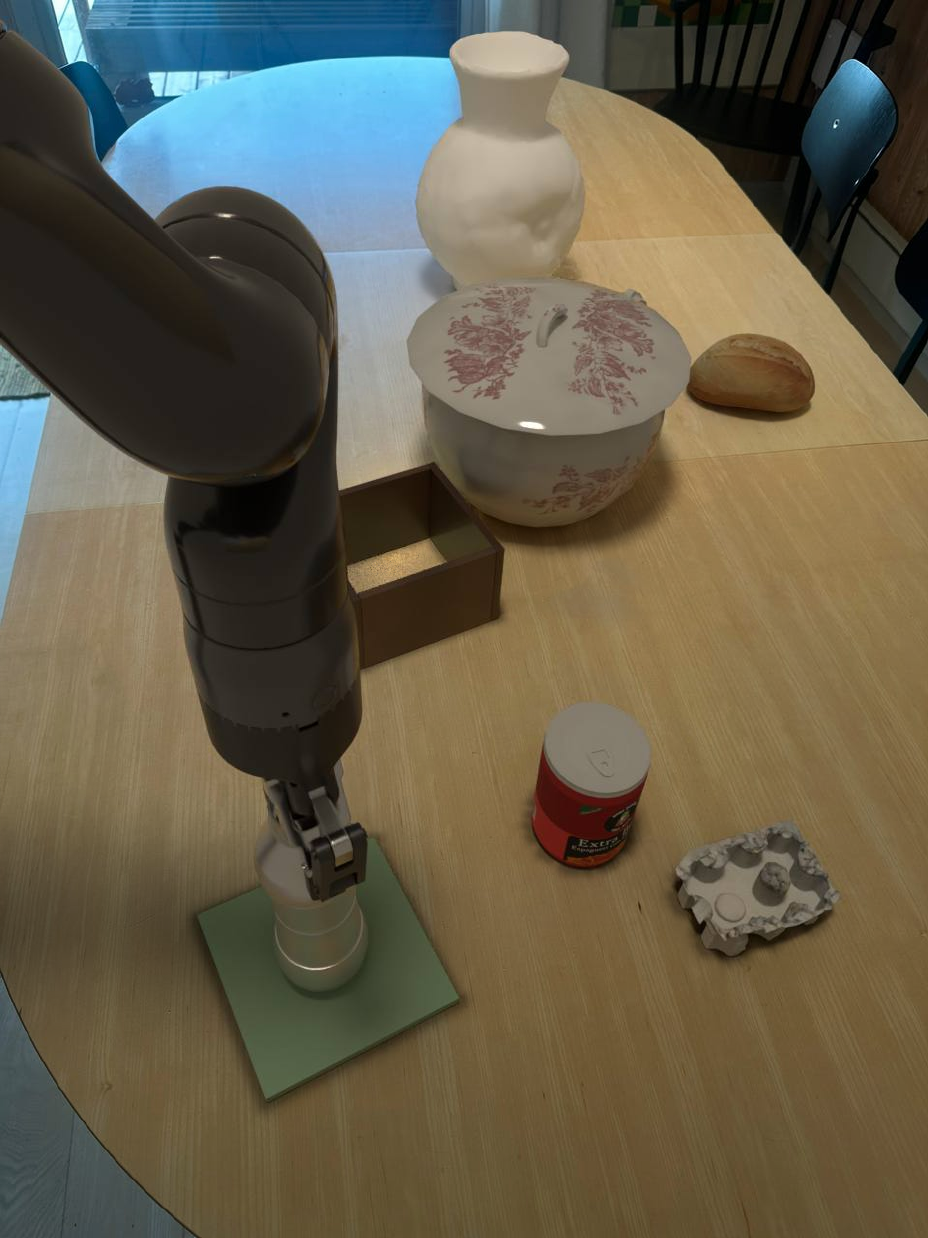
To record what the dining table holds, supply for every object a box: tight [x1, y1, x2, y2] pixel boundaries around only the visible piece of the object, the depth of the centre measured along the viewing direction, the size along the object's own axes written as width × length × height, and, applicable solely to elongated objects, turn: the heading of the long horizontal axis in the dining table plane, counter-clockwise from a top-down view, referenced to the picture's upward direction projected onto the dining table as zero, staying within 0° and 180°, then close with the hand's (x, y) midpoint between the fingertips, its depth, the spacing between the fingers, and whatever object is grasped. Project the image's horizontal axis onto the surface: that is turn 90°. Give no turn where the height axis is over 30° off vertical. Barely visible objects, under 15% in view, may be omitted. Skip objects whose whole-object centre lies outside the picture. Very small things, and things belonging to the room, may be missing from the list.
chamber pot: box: [406, 276, 692, 529], centre depth 98 cm, size 28×28×21 cm
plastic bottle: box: [252, 797, 369, 992], centre depth 61 cm, size 6×7×20 cm
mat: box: [196, 836, 460, 1104], centre depth 68 cm, size 14×14×1 cm
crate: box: [339, 461, 506, 671], centre depth 90 cm, size 15×14×9 cm
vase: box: [414, 30, 586, 291], centre depth 122 cm, size 19×21×30 cm
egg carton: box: [675, 818, 842, 957], centre depth 72 cm, size 11×8×4 cm
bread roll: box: [687, 332, 816, 413], centre depth 114 cm, size 10×15×8 cm, turn 80°
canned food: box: [531, 701, 652, 868], centre depth 73 cm, size 8×8×11 cm
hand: (306, 843), depth 56 cm, fingers closed on plastic bottle, 6 cm apart
